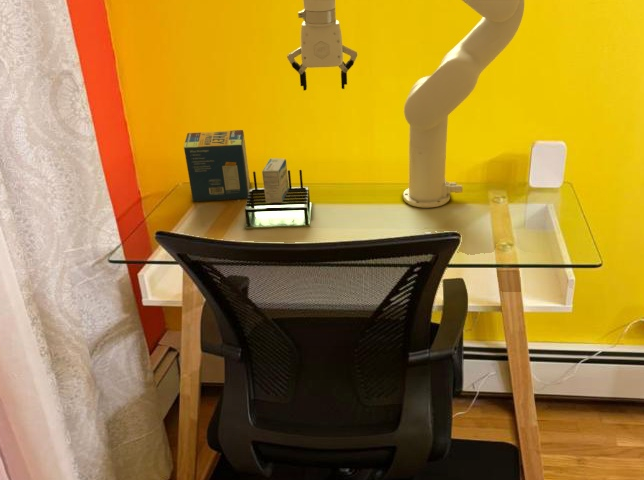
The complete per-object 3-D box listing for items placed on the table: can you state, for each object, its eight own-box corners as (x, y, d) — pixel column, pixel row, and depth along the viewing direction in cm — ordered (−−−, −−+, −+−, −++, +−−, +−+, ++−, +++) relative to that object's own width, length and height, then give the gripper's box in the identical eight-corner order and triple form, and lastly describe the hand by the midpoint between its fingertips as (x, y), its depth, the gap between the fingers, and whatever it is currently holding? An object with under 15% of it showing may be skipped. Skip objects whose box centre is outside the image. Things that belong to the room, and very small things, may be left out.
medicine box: (282, 203, 198) (279, 171, 193) (265, 203, 199) (261, 170, 193) (289, 190, 204) (286, 158, 199) (272, 189, 205) (269, 157, 200)
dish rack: (311, 204, 210) (309, 168, 204) (309, 226, 200) (307, 189, 193) (250, 206, 210) (245, 170, 204) (245, 229, 200) (240, 191, 194)
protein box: (195, 186, 222) (186, 132, 212) (250, 182, 222) (243, 129, 213) (192, 202, 213) (182, 147, 204) (249, 198, 214) (242, 144, 204)
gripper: (283, 21, 186) (289, 94, 196) (356, 19, 185) (358, 91, 196) (285, 13, 192) (290, 84, 202) (355, 11, 191) (358, 82, 202)
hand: (324, 88), depth 199 cm, fingers open, 9 cm apart
